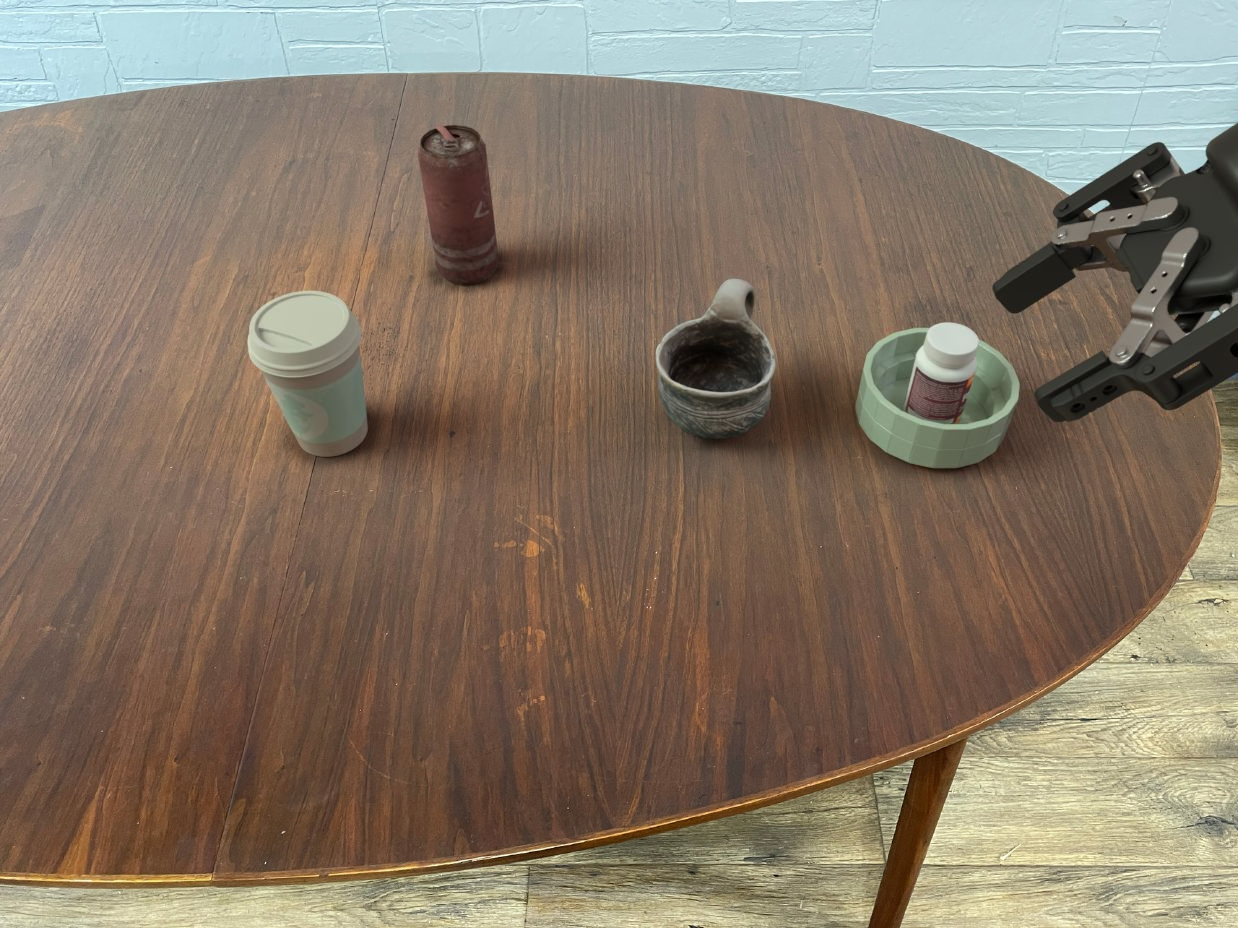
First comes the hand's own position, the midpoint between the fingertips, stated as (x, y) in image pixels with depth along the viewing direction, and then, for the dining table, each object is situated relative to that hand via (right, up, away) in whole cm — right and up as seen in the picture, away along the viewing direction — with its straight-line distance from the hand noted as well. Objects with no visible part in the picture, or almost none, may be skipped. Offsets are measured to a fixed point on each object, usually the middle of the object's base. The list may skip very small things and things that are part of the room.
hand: (1021, 352), depth 53 cm
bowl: (+5, -2, +34) cm, 35 cm away
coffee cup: (-45, -3, +34) cm, 56 cm away
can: (-36, +14, +50) cm, 63 cm away
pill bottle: (+5, -2, +34) cm, 34 cm away
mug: (-13, -1, +36) cm, 38 cm away
